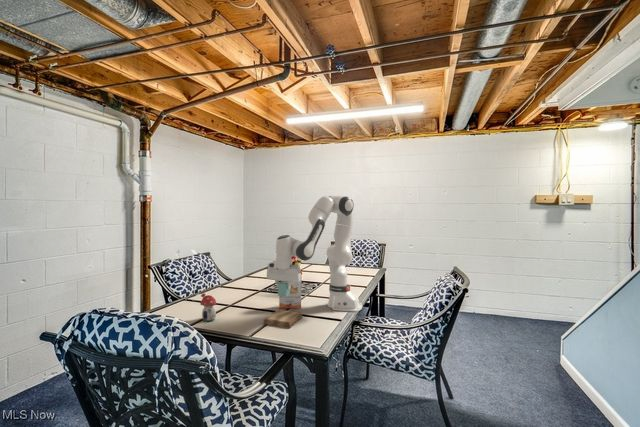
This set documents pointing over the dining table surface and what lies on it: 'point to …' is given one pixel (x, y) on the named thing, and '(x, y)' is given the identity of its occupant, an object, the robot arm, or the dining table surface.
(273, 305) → the dining table surface
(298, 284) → the cracker box
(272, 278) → the robot arm
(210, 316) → the decorative ornament
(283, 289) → the block
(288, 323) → the base
